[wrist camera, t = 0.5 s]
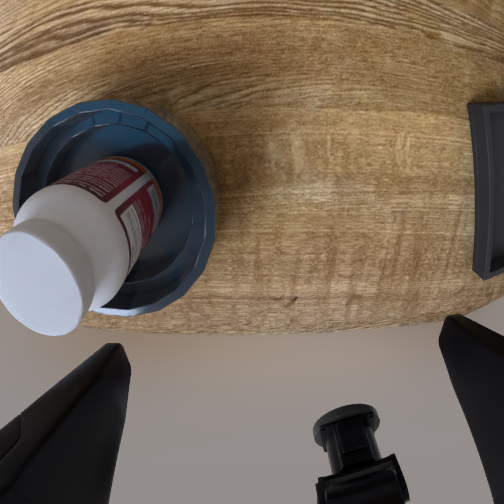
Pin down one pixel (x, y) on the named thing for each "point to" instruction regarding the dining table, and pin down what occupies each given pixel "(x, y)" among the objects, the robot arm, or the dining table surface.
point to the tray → (488, 186)
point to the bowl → (166, 174)
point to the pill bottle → (77, 243)
